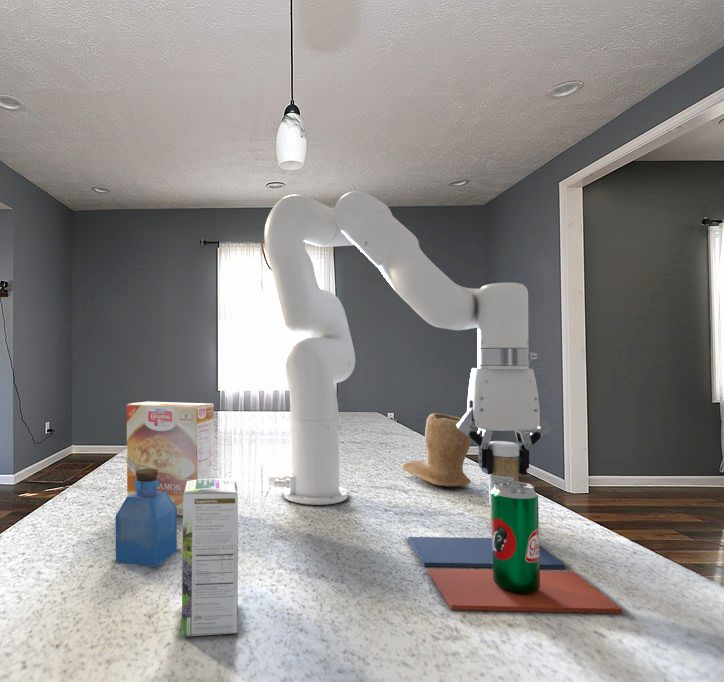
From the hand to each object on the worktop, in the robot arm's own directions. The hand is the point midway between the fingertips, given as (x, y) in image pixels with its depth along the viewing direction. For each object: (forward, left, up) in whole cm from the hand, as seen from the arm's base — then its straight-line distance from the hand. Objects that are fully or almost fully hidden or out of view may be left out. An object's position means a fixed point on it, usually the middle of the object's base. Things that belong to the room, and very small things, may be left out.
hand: (503, 471), depth 85 cm
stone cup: (-2, +31, -9) cm, 32 cm away
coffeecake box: (-57, +9, -9) cm, 58 cm away
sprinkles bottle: (0, 0, -9) cm, 9 cm away
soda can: (-8, -23, -9) cm, 26 cm away
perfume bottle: (-55, -14, -9) cm, 57 cm away
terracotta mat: (-8, -23, -9) cm, 26 cm away
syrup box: (-43, -32, -9) cm, 54 cm away
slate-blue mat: (-8, -11, -9) cm, 16 cm away
